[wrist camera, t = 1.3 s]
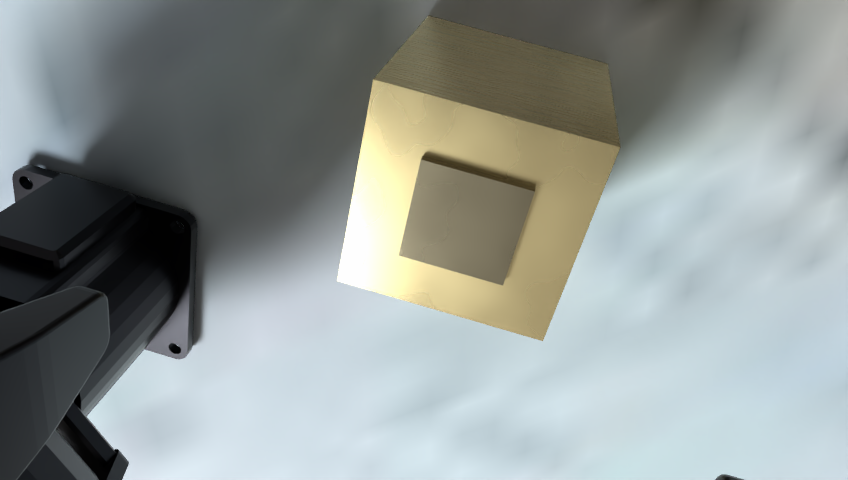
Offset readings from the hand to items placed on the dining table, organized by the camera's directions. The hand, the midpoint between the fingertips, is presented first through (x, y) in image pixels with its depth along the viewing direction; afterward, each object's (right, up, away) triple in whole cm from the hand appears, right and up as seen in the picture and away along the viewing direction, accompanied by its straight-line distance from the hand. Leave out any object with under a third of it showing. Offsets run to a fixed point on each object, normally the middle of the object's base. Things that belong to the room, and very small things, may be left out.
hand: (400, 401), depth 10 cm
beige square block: (+2, +6, +10) cm, 12 cm away
